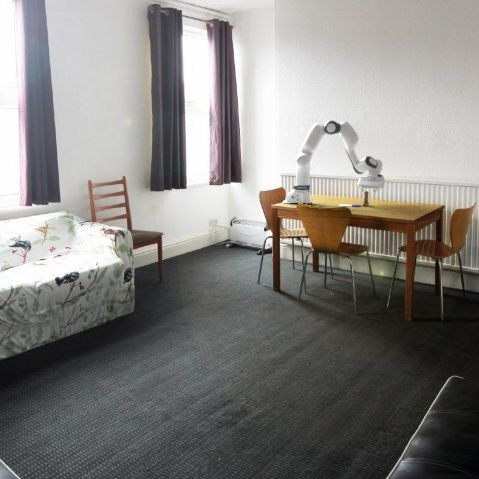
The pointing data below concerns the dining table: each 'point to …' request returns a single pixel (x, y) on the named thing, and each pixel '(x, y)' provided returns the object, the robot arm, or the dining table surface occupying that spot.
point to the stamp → (366, 199)
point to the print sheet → (345, 205)
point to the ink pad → (356, 205)
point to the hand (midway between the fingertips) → (368, 191)
